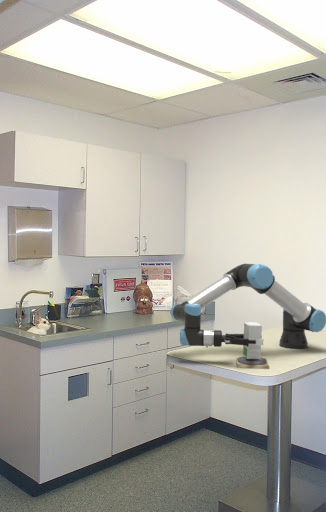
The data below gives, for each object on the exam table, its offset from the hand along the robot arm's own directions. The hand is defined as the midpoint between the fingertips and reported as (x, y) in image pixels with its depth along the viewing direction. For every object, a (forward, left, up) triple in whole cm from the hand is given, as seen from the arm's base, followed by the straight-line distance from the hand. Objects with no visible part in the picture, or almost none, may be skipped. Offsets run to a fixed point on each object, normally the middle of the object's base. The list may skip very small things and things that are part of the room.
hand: (262, 340), depth 222 cm
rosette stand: (+5, 0, -11) cm, 12 cm away
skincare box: (+5, 0, -8) cm, 9 cm away
